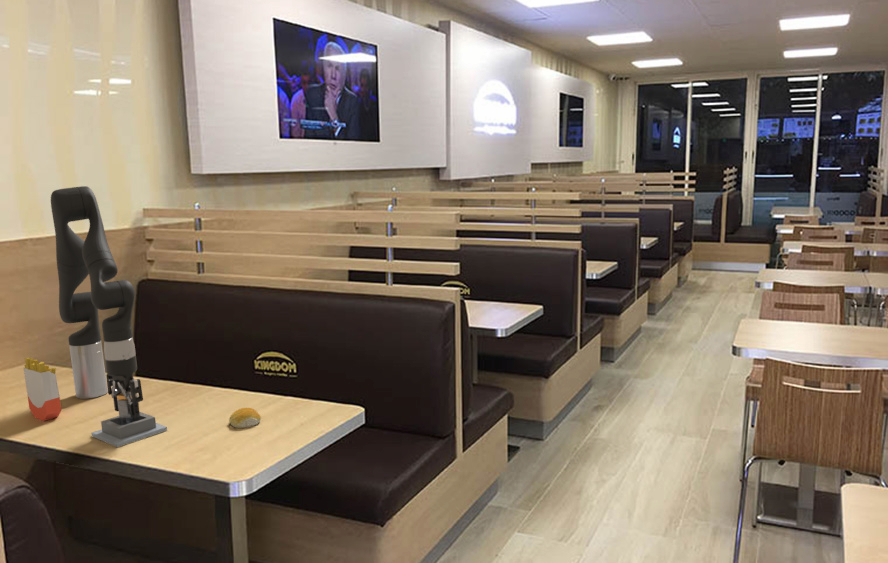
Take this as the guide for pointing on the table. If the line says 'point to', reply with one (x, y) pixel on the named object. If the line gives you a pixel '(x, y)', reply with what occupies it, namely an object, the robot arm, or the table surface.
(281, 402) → the table surface
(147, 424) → the socket
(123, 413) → the cylinder
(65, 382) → the table surface
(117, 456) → the table surface
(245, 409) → the bread roll
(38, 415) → the french fries container
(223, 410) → the table surface
